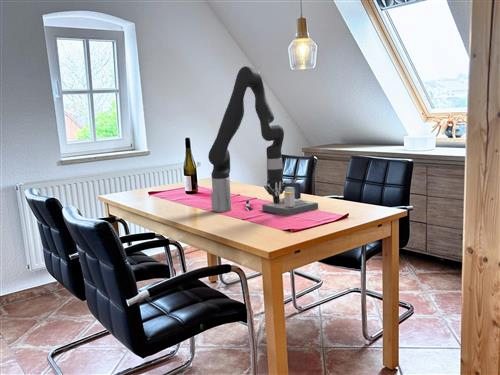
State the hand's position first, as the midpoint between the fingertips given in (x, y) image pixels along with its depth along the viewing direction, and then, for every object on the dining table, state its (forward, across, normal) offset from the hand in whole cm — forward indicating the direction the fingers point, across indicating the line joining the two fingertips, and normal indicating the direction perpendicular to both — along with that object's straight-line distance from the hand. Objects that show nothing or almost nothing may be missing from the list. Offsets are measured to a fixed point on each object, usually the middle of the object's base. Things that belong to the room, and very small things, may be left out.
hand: (276, 203), depth 233 cm
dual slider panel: (+6, +14, +6) cm, 16 cm away
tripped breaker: (+3, +8, 0) cm, 9 cm away
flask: (+6, +36, +27) cm, 45 cm away
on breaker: (+3, +19, +11) cm, 22 cm away
